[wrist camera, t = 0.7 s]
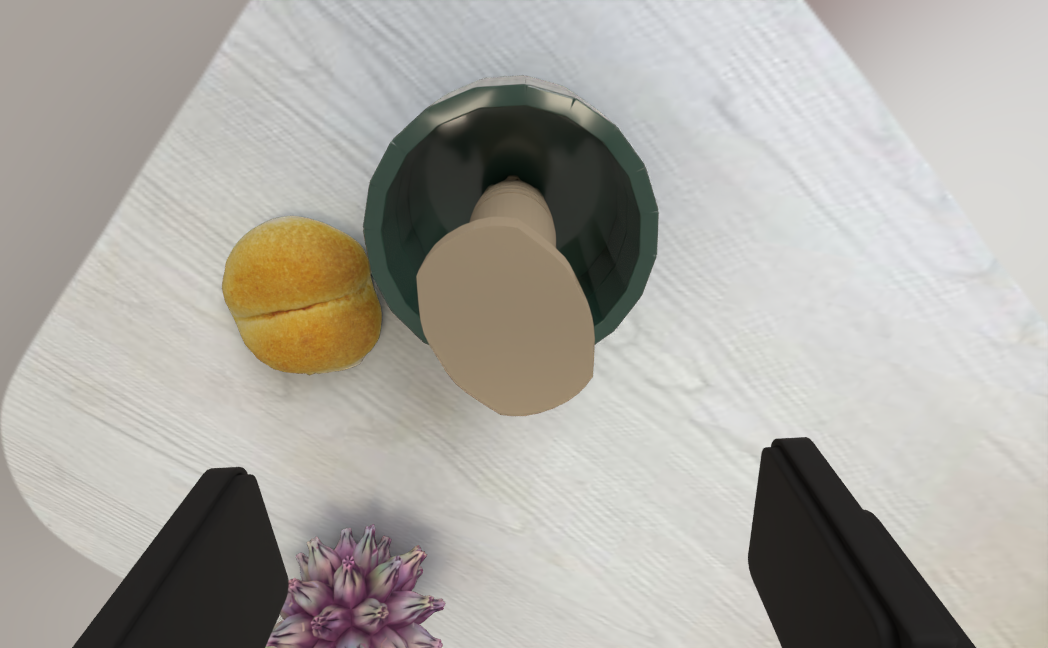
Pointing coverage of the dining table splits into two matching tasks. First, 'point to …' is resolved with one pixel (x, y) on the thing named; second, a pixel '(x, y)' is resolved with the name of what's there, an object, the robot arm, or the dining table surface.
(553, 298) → the handle
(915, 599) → the robot arm
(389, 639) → the flower
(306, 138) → the dining table surface
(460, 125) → the pot
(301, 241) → the bread roll
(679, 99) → the dining table surface
